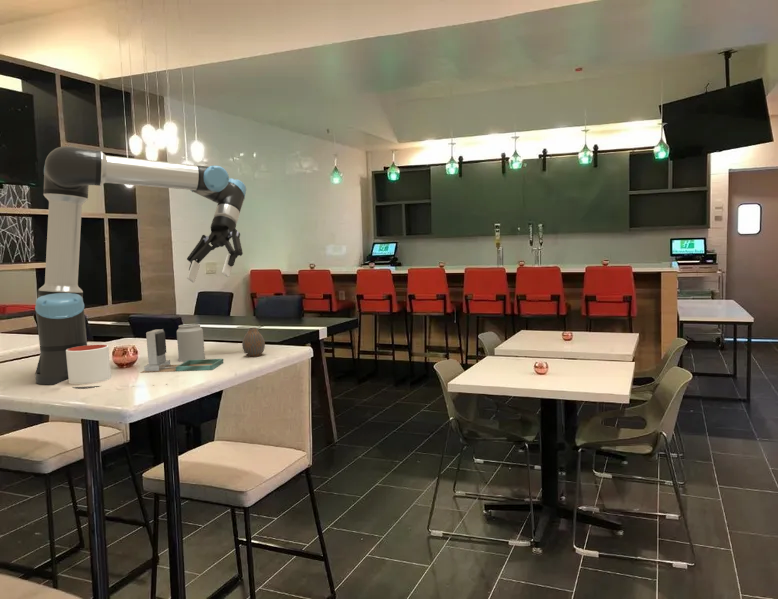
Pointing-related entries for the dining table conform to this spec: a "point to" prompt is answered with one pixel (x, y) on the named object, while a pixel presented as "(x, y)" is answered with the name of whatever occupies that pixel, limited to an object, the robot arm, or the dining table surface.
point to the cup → (88, 365)
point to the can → (190, 342)
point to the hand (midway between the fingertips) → (207, 277)
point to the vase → (253, 343)
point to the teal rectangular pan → (193, 365)
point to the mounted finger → (156, 351)
